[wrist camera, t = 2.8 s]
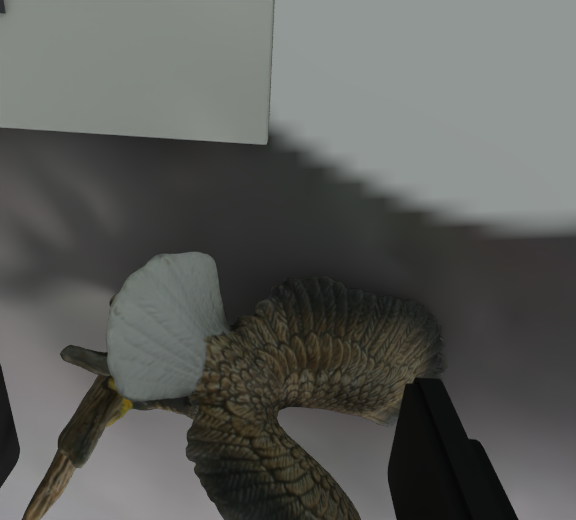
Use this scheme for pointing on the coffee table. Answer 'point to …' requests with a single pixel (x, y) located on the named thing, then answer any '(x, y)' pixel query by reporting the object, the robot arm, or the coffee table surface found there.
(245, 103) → the board
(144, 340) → the eagle figurine
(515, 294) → the coffee table surface
